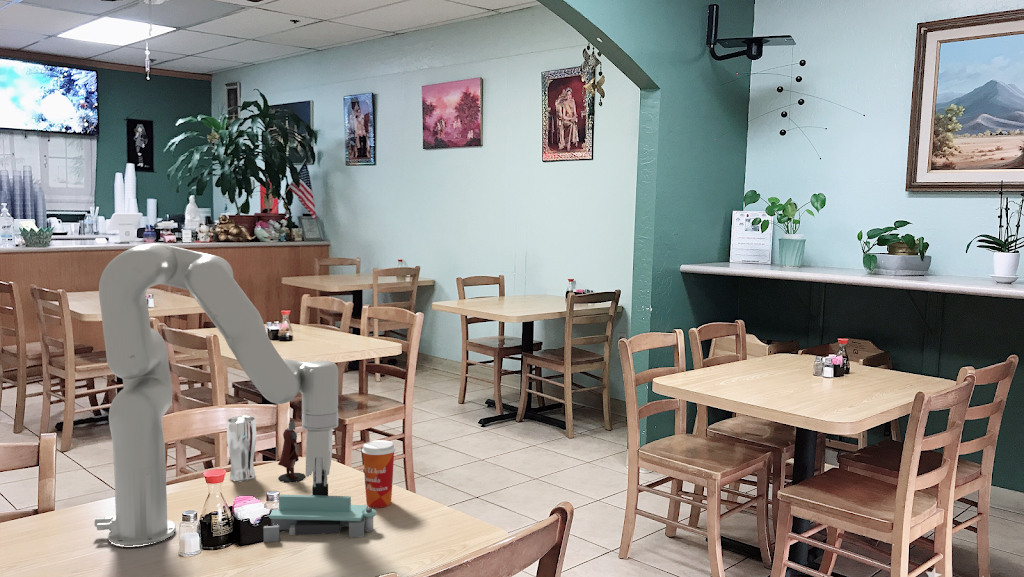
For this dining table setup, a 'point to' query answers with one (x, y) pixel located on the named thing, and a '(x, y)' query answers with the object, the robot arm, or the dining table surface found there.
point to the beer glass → (241, 447)
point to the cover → (320, 508)
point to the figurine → (290, 455)
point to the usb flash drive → (316, 527)
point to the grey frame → (354, 526)
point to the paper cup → (378, 472)
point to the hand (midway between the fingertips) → (320, 502)
